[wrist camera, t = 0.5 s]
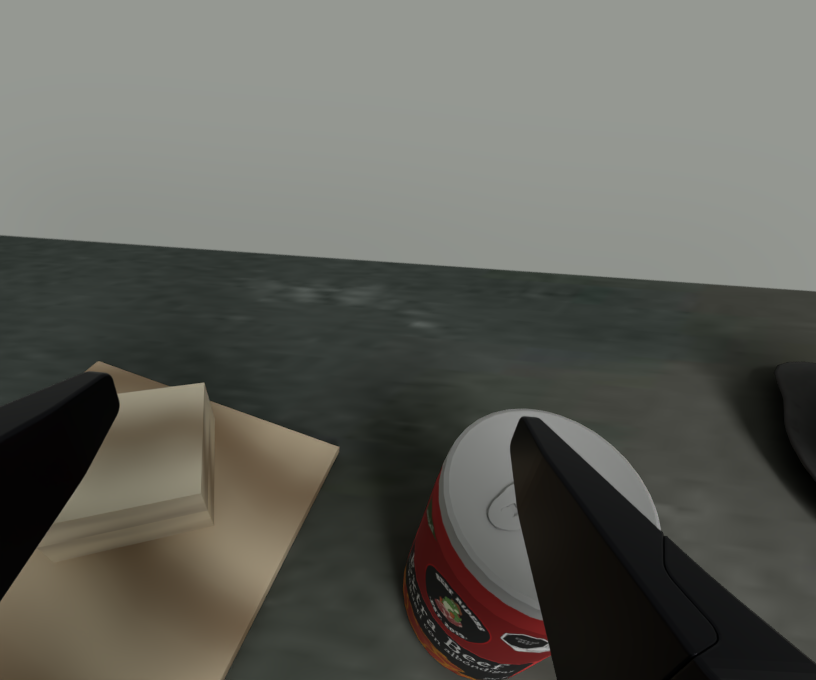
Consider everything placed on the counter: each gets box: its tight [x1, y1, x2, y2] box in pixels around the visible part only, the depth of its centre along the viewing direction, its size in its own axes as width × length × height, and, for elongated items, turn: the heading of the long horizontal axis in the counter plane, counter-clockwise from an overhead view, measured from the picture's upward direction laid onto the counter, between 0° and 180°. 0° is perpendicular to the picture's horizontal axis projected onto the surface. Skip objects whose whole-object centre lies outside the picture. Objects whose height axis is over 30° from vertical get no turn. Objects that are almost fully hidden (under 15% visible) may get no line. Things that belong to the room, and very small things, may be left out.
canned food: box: [403, 409, 661, 680], centre depth 18 cm, size 8×8×11 cm
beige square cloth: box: [0, 361, 339, 680], centre depth 21 cm, size 18×18×1 cm
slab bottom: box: [37, 404, 215, 563], centre depth 23 cm, size 7×7×2 cm
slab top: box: [37, 383, 210, 548], centre depth 21 cm, size 7×7×2 cm
